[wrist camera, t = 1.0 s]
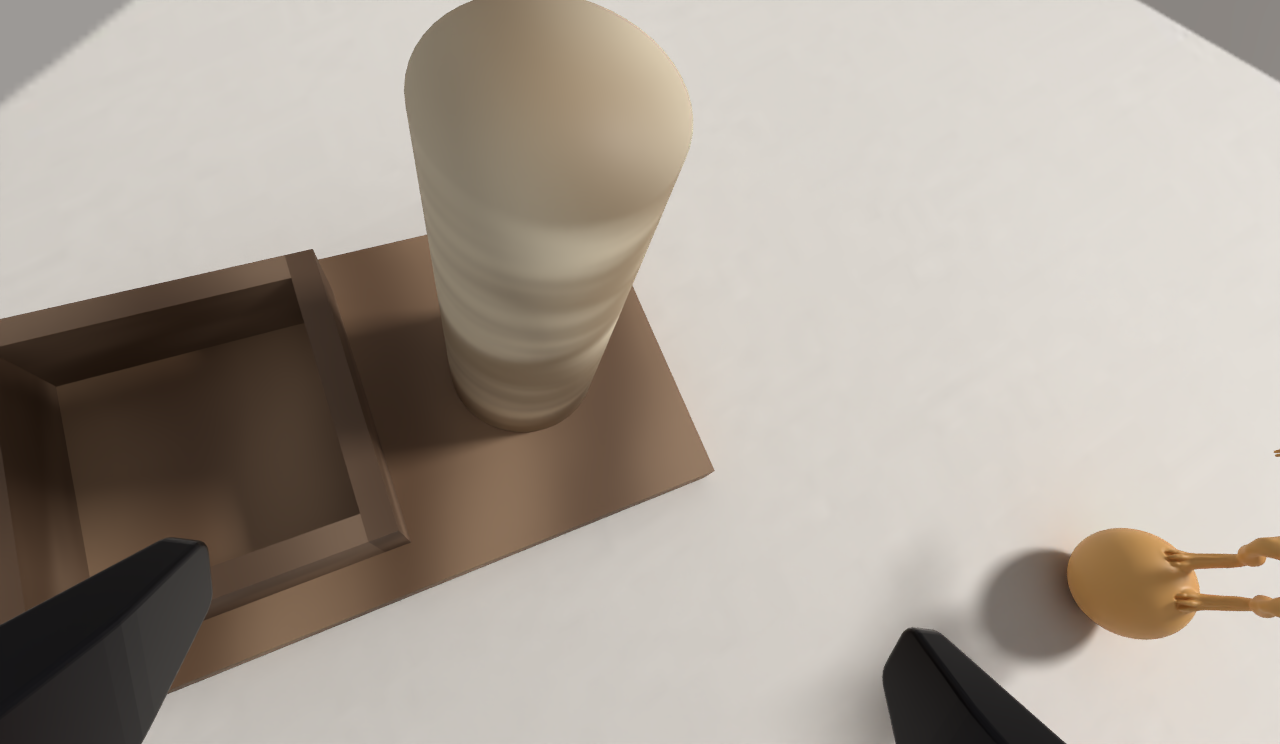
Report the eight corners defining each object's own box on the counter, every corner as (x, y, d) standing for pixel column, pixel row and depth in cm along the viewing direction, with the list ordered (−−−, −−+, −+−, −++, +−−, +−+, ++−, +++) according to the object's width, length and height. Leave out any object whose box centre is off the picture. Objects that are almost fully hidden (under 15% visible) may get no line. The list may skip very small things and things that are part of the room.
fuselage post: (502, 460, 22) (516, 272, 10) (421, 345, 23) (345, 44, 11) (618, 383, 24) (746, 147, 12) (540, 279, 25) (586, -39, 13)
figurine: (1029, 477, 27) (1388, 383, 16) (1149, 495, 28) (1563, 419, 17) (1057, 694, 24) (1521, 757, 13) (1191, 707, 25) (1726, 775, 14)
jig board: (81, 728, 18) (-30, 758, 14) (18, 349, 21) (-87, 289, 17) (704, 477, 24) (744, 451, 21) (588, 213, 27) (604, 147, 24)
